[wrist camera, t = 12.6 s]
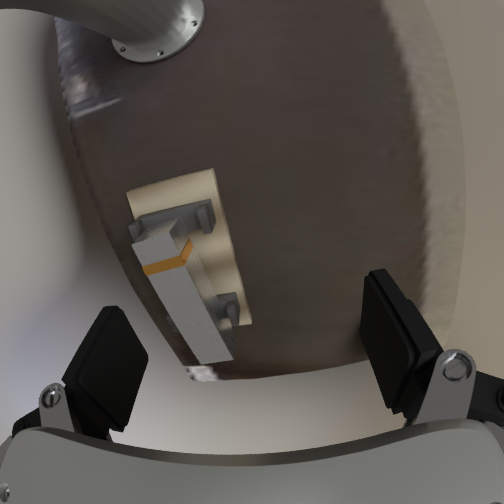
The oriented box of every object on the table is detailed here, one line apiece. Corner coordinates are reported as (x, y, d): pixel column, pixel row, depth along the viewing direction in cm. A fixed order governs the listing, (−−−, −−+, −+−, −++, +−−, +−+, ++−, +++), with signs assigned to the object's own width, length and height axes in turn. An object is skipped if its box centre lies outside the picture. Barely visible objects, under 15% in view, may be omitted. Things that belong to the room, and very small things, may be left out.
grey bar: (146, 227, 32) (130, 245, 28) (181, 215, 32) (169, 231, 27) (205, 340, 41) (200, 365, 36) (236, 335, 40) (234, 360, 36)
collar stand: (129, 190, 33) (112, 201, 29) (213, 167, 32) (206, 175, 27) (182, 326, 44) (175, 348, 39) (251, 318, 43) (251, 341, 38)
